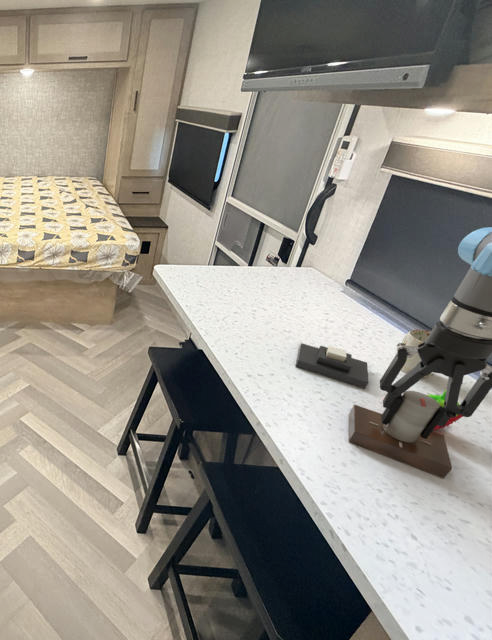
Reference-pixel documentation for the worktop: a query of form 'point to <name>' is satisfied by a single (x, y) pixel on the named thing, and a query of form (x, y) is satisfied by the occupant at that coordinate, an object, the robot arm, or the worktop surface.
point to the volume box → (398, 443)
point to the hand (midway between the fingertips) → (403, 426)
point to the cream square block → (336, 353)
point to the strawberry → (441, 401)
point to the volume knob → (411, 416)
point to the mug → (414, 340)
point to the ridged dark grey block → (332, 366)
